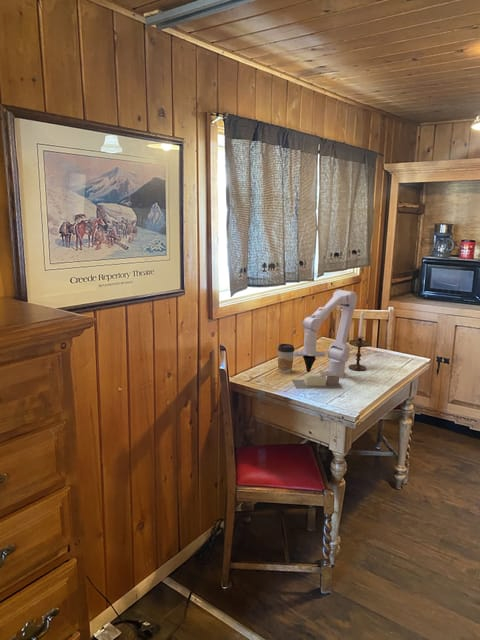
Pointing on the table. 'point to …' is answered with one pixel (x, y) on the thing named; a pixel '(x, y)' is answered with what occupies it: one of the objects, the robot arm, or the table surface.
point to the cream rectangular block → (314, 380)
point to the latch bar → (327, 373)
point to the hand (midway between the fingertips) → (308, 371)
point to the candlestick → (359, 345)
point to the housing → (331, 383)
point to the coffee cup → (285, 358)
